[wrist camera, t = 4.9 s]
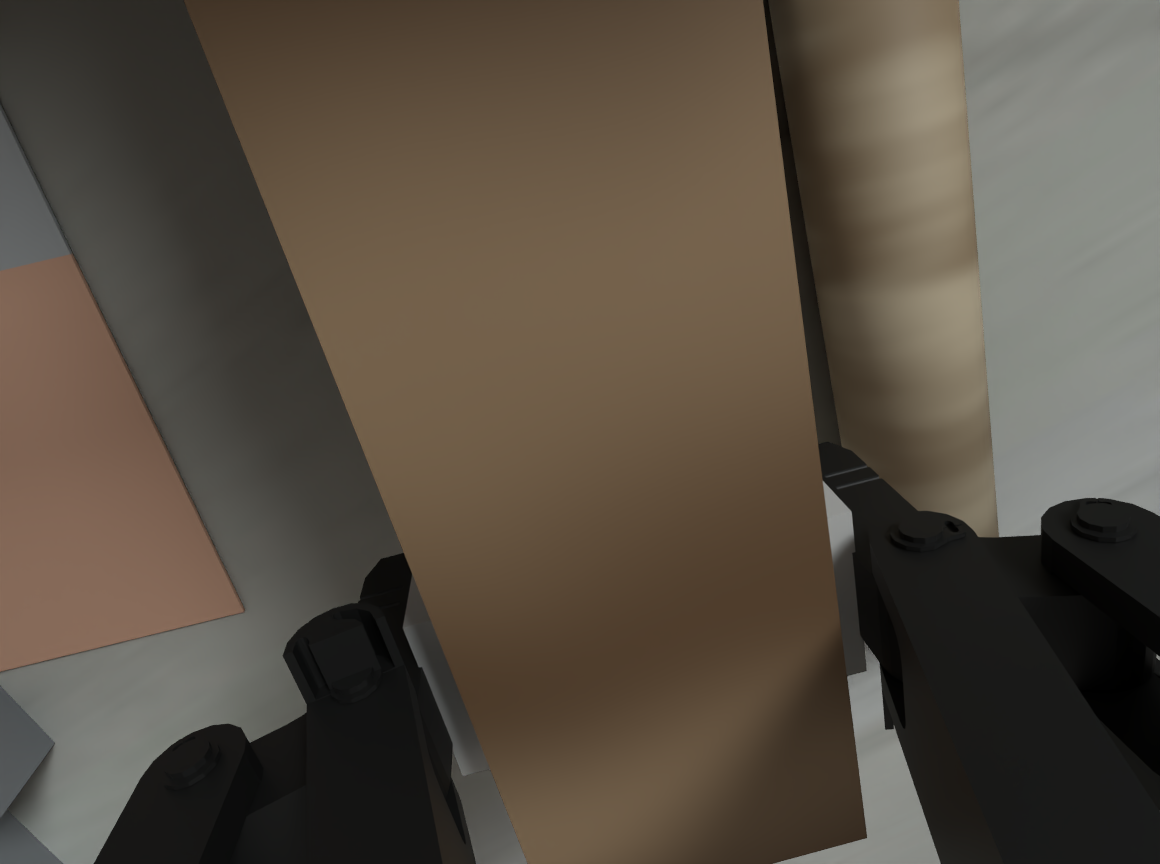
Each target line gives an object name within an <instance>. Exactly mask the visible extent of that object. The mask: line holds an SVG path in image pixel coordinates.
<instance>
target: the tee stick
mask: <svg viewBox="0 0 1160 864" xmlns="http://www.w3.org/2000/svg"><path fill="white" fill-rule="evenodd" d="M54 744H55V742H54V741H53V740H52V739H51V738H50V737H49V736H48V735H47V734H46V733H45V732H44V731H43V730H42V729H41V728H40V727H39V726H38V725H37V724H36V722H35V721H34V720H33V719H32V718H31V717H30V716H29V715H28V714H27V713H26V712H25V711H24V710H23V709H22V708H21V707H20V706H19V705H18V704H17V703H16V702H15V700H14V699H13V698H12V697H11V696H10V695H9V694H8V693H7V692H6V691H5V690H4V689H3V688H2V687H1V686H0V864H63V863H62V862H61V861H60V860H59V859H58V858H57V857H56V856H55V855H54V854H53V853H52V852H50V851H49V850H48V849H47V848H46V847H45V846H44V845H43V844H42V843H41V842H40V841H39V840H38V839H37V838H36V837H35V836H34V835H33V834H32V833H31V832H30V831H29V830H28V829H27V828H25V827H24V826H23V825H22V824H21V823H20V822H19V821H18V820H17V819H16V818H15V817H14V816H13V815H12V814H11V813H10V812H9V811H8V810H7V808H8V807H9V806H10V804H11V803H12V801H13V800H14V799H15V797H16V796H17V795H18V793H19V792H20V790H21V789H22V788H23V786H24V785H25V784H26V782H27V781H28V779H29V778H30V777H31V775H32V774H33V773H34V771H35V770H36V768H37V767H38V766H39V764H40V763H41V762H42V760H43V759H44V757H45V756H46V755H47V753H48V752H49V751H50V749H51V748H52V746H53V745H54Z"/></svg>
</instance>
